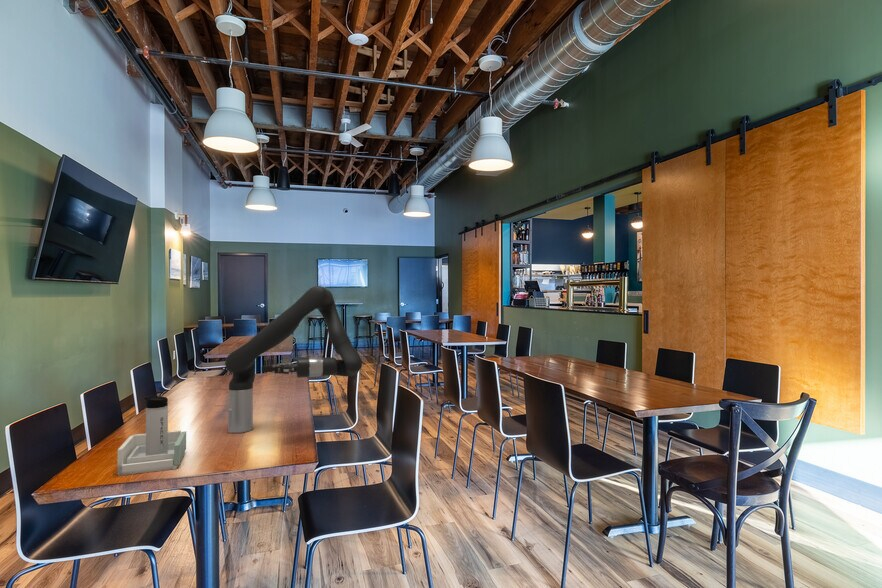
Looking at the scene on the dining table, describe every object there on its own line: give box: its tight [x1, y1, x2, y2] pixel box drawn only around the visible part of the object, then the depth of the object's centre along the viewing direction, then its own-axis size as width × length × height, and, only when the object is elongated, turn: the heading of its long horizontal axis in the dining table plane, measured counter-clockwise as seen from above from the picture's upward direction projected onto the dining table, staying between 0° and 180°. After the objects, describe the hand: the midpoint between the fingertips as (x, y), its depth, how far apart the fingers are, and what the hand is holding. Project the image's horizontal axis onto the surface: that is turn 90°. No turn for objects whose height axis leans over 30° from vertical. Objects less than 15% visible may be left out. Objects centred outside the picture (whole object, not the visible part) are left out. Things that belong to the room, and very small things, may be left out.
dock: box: [116, 429, 182, 477], centre depth 155 cm, size 16×17×8 cm
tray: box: [127, 431, 187, 466], centre depth 155 cm, size 15×17×6 cm
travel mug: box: [144, 395, 169, 456], centre depth 155 cm, size 6×7×20 cm
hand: (261, 369), depth 174 cm, fingers closed
